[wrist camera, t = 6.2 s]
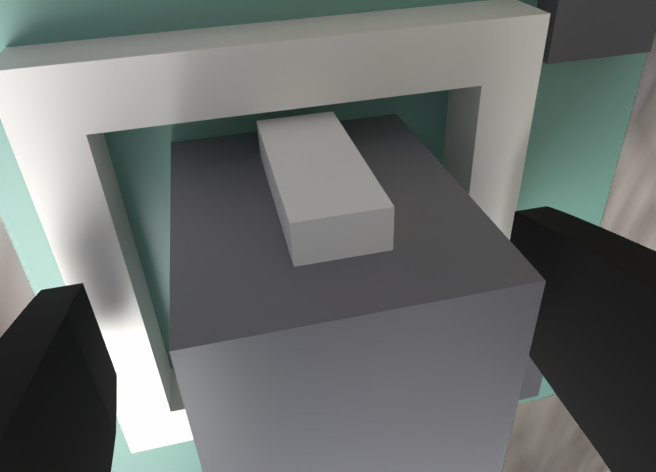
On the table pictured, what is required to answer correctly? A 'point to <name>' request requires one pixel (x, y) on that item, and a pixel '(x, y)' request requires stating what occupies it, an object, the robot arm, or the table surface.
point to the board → (277, 102)
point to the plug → (342, 303)
